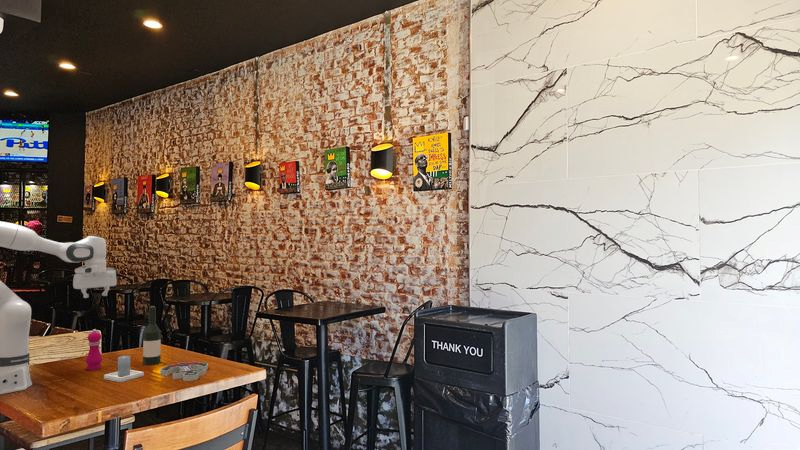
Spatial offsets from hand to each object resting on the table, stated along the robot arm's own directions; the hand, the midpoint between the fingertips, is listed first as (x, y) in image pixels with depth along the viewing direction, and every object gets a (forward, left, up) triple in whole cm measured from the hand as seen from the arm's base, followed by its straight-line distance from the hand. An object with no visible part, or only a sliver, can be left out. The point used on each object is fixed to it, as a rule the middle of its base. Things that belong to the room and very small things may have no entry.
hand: (95, 296), depth 259 cm
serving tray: (+1, -21, -37) cm, 43 cm away
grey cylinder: (+1, -21, -36) cm, 42 cm away
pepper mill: (+5, +8, -37) cm, 38 cm away
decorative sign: (+20, -41, -38) cm, 59 cm away
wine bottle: (+26, -8, -37) cm, 46 cm away
